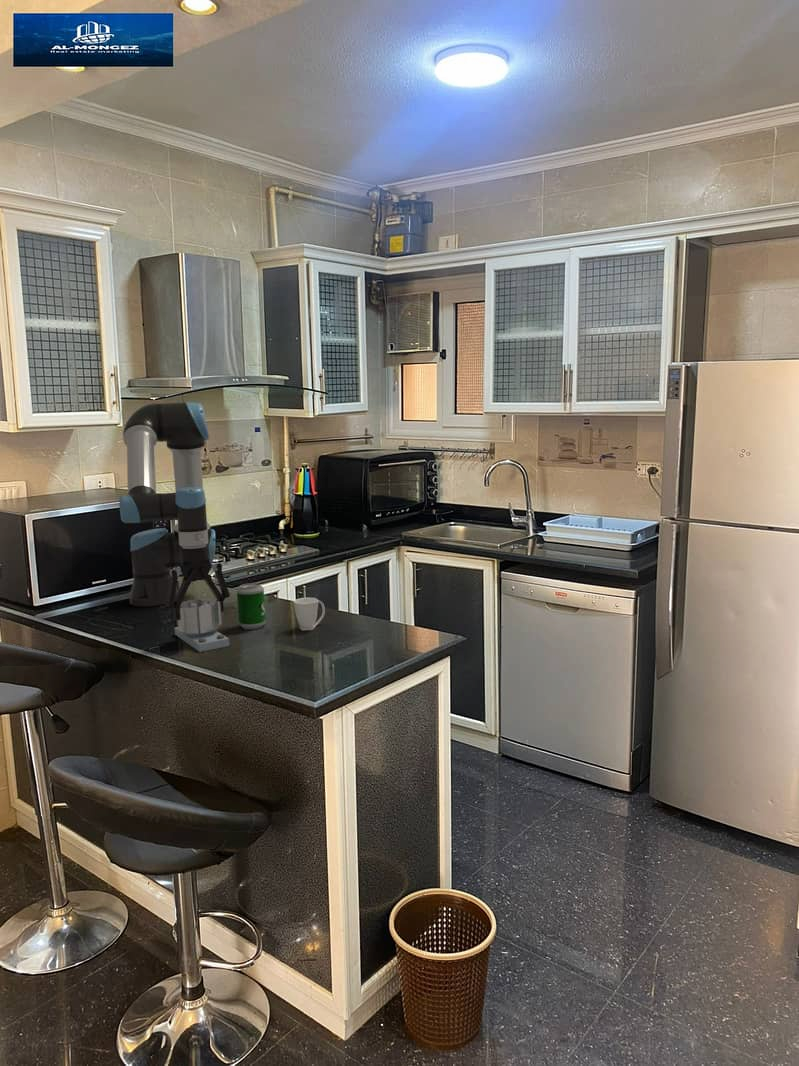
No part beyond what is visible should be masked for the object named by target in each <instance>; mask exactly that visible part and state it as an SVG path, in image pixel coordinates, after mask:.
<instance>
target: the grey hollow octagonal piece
mask: <svg viewBox="0 0 799 1066" xmlns="http://www.w3.org/2000/svg"><path fill="white" fill-rule="evenodd" d="M216 600H217V599H214V598H195V599H189V600H186V601H182V603H181V606H180V607H182V608H183V614H184V626H185V632H184V633H191V634H199V633H206V632H211V631H214V630H216V631H217V629H219V628H220V625H219V613H218V601H216Z"/></svg>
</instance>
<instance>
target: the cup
mask: <svg viewBox="0 0 799 1066" xmlns="http://www.w3.org/2000/svg"><path fill="white" fill-rule="evenodd" d="M292 602H293V606H294V607H293V608H294V611H295V616H296V619H297V623H298V625H299V628H300V629H301V631H305V630H306V631H307V630H308V631H312V630H315V629H316V627H317V626H318V625H319V624H320V623H321V621H322V620H323V619H324V617H325V614H326V608H325V603H324V602H323V601H321V600H319V599H317V598H316V597H301V598H297V599H295V600H292ZM319 604H320V605H321V608H322V609H321V610H322V614H321V616H320V617H319V618H318V609H319ZM317 618H318V620H317ZM314 628H315V629H314ZM300 629H299V630H300Z"/></svg>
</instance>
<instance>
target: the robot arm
mask: <svg viewBox="0 0 799 1066" xmlns="http://www.w3.org/2000/svg"><path fill="white" fill-rule="evenodd" d="M122 435H123V436H122V440H123V444H124V445H125V446H126V458H127V460H126V462H127V463H126V464H127V465H126V466H127V467H126V468H127V469H126V471H127V473H126V474H127V475H126V476H127V494H126V495H122V496H120V497H119V501H118V502H119V505H118V506H119V513H120V520H121V521H122V522H123V523H124V524H141V523H151V522H165V521H177V523H176V524H175V525H174V526H173V531H172V532H168V530H167V528H165V527H162V528H153V529H149V530H143V531H139V532H137V533H135V534H133V535H132V536H131V537H130V548H129V551H130V553H131V564H132V576H133V577H132V578H133V581H132V585H131V589H130V593H129V604H130V605H132V606H135V607H156V606H163V605H166V606H167V607H169V608H173V615H174V616H173V617H174V619H175V620H176V621H178V622H177V623H178V627H179V631H181V632H185V626H184V614H183V608H182V607H180V606H181V603H183V602H184V598H185V596H186V594H187V591H188V589H189V586H191V583H192V582H197V581H204V582H205V583H206V585H207V587H209V590H210V591H211V592H212V594H213V595H214V598H216V599H215V600H216V601H218V613H219V626H222V625H223V623H222V612H224V609H225V608H224V601H225V599H227V598H230V595H231V594H230V592H229V589H228V586H227V582H226V580H225V576H224V574H223V570H222V569H223V563H220V562H215V563H214V559H215V553H216V531H215V529H212V528H211V524H210V523H209V522H208V520H207V519H208V517H207V505H206V503H207V499H206V494H205V489H204V481H203V469H202V467H203V466H202V453H201V451H202V450H203V448H204V447H205V446H206V441H208V440H210V435H209V429H208V424H207V419H206V416H205V410H204V407H203V405H202V404H201V403H199V402H188V401H186V402H185V401H184V402H182V401H181V402H166V403H165V402H164V403H149V404H146V405H143V406H141V407H140V408H138V409H137V410H136V411H134V412H133V413H132V414H131V416H130V417H129V418H128V419H127V421H126V422H125V426H124V427H123V433H122ZM157 442H159V443H160V442H161V443H163V442H166V448H167V449H168V450H169V451H171V453H172V464H173V474H174V475H173V478H174V486H175V490H174V491H175V492H165V493H157V487H156V484H157V483H156V482H157V481H156V464H155V446H156V445H157ZM211 570H212V571H214V575H215V578H216V580H217V583H218V586H219V589H220V590H219V589H218V588H217V585H216V584H215V583H214V581H213V580H212V577H211V576H210V574H209V573H210V571H211ZM180 573H181V574H182V575H183V578H182V581H181V583H180V587H179V588H178V590H177V587H178V579H179V577H180Z"/></svg>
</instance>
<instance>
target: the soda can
mask: <svg viewBox="0 0 799 1066" xmlns="http://www.w3.org/2000/svg"><path fill="white" fill-rule="evenodd" d="M264 592H265V590H264V587H263V586H262V585H261V584H260V583H256V582H249V583H243V584H241V585H239V587H237V589H236V597H237V598H236V599H237V609H238V610H237V613H238V614H237V616H238V624H239V626H240V627H242V629H244V630H257V629H260V628H263V627H264V625H265V624H266V623H267V621H266V620H267V619H266V606H265V605H266V604H265V603H266V602H265V593H264ZM262 626H263V627H262Z"/></svg>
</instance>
